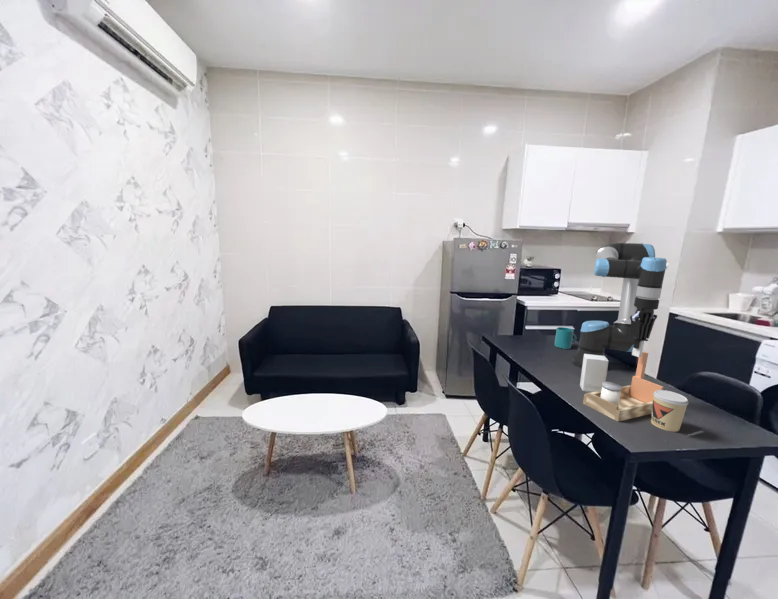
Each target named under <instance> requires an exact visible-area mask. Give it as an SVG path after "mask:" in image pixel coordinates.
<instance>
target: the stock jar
mask: <svg viewBox="0 0 778 599" xmlns="http://www.w3.org/2000/svg"><path fill="white" fill-rule="evenodd" d="M621 391H622V385H620V384H618V383H615V382H612V381H606V382H603V383H602V390H601V396H600V398H602V399H604V400H606V401H608V402H611V403H613V404H615V405H617V406H619V400H620V395H621Z"/></svg>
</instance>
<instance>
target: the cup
mask: <svg viewBox="0 0 778 599" xmlns="http://www.w3.org/2000/svg"><path fill="white" fill-rule="evenodd" d="M555 330H556V331H555V332H556V333H555V337H554V347H556V348H558V347H559V348H558V349H561V348H562V349H561V350H569V349H570V350H571V349H572V344H573V343H575V342H576V341H577V335H576V334H575V333H574V329H572V328H569V327H564V326H560V327H559V326H558V327H556V329H555ZM573 336H574V339H573Z"/></svg>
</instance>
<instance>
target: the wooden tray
mask: <svg viewBox="0 0 778 599" xmlns="http://www.w3.org/2000/svg"><path fill="white" fill-rule="evenodd" d="M621 386H622V385H621ZM630 388H631V384H629V385H624V386H622V391H621V395H620V400H619V406H617V405H615V404H613V403H611V402H608V401H606V400H604V399H602V398H600V396H601V391H596V392H586V393H584V395H583V400H582V404H583V405H585V406H587V407H589V408H591V409H593V410H595V411H597V412H599V413H600V414H602V415H603V416H604V415H605V416H606V417H609V419H612V420H614V421H616V422H622V421H628V420H630V419H634V418H635V419H636V418H639V417H643V416H648V415H652V405H653V401H652V402H647V403H645V402H643V401H641V400H638V399H636V398H634V397H631V396H629V394H630Z"/></svg>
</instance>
